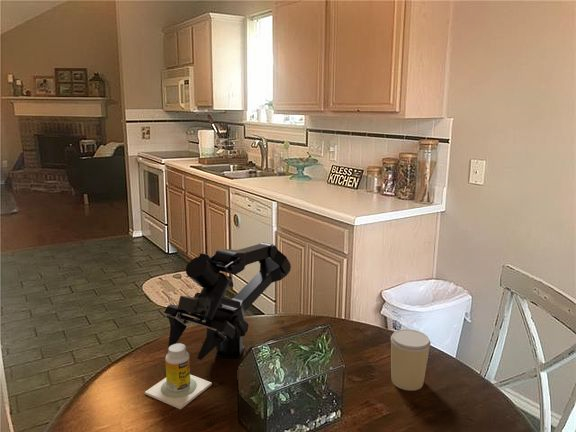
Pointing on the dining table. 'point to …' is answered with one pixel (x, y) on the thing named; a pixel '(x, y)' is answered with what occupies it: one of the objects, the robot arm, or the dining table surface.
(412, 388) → the coffee cup
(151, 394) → the card
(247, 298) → the robot arm
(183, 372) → the supplement bottle
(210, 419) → the dining table surface
